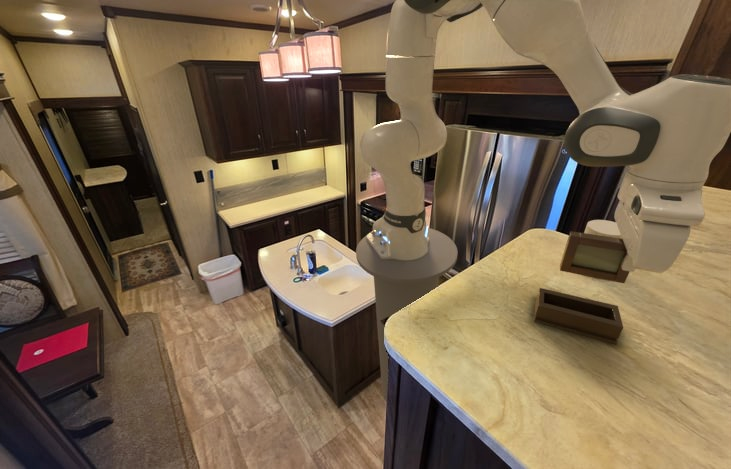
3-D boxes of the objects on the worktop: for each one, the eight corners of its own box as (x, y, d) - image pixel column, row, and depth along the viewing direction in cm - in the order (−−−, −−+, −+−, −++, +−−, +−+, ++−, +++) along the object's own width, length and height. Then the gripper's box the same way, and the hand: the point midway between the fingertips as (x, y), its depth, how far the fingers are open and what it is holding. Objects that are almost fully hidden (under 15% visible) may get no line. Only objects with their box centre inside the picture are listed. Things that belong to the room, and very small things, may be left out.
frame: (559, 265, 59) (570, 231, 55) (622, 277, 54) (638, 240, 50) (559, 270, 57) (570, 235, 53) (624, 283, 52) (641, 246, 49)
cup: (579, 274, 74) (594, 233, 68) (570, 257, 81) (582, 218, 75) (617, 278, 72) (635, 236, 66) (604, 259, 79) (619, 220, 73)
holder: (535, 299, 68) (539, 285, 66) (610, 318, 61) (617, 303, 59) (534, 321, 62) (538, 307, 60) (616, 344, 55) (624, 329, 53)
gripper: (619, 170, 54) (596, 234, 61) (645, 214, 39) (611, 292, 46) (664, 173, 51) (635, 240, 58) (711, 221, 36) (664, 304, 43)
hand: (624, 263), depth 52 cm, fingers closed on frame, 2 cm apart
